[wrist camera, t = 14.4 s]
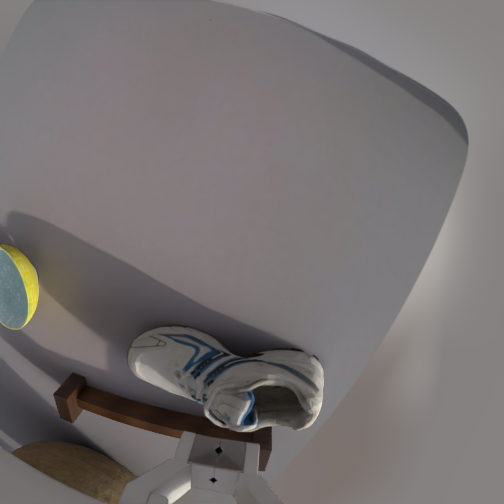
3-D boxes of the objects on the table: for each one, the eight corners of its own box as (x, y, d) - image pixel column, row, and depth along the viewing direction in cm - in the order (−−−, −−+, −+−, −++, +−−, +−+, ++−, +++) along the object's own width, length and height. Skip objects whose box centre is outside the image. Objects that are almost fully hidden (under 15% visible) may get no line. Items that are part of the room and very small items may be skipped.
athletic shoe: (133, 316, 35) (96, 391, 24) (327, 323, 34) (346, 407, 24) (149, 371, 39) (125, 441, 29) (315, 379, 39) (325, 454, 28)
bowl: (9, 303, 36) (-16, 317, 30) (2, 231, 34) (-26, 239, 28) (59, 321, 36) (34, 340, 30) (54, 241, 34) (24, 252, 28)
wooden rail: (271, 419, 38) (271, 450, 32) (265, 441, 39) (264, 471, 33) (72, 372, 38) (53, 394, 32) (77, 396, 39) (60, 418, 34)
